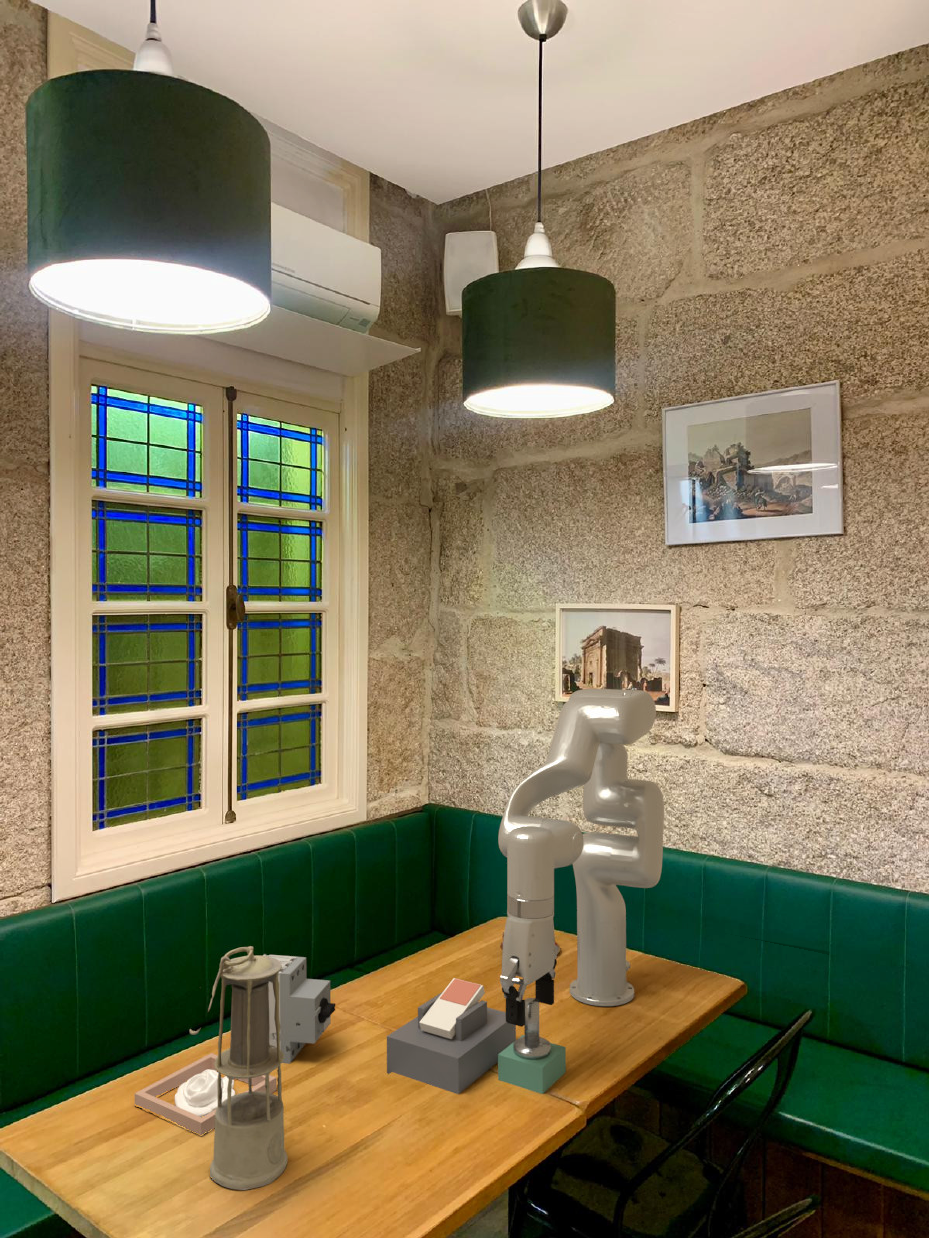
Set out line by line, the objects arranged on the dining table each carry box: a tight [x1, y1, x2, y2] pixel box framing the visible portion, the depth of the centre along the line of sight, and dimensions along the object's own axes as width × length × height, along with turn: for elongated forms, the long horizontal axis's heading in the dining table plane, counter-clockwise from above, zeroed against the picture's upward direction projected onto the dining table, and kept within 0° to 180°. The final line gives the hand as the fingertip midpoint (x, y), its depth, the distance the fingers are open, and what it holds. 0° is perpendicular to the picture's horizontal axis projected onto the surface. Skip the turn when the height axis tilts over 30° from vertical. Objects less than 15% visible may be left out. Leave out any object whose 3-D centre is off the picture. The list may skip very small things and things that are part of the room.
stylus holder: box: [497, 1034, 567, 1095], centre depth 144 cm, size 8×8×4 cm
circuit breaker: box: [262, 953, 336, 1065], centre depth 153 cm, size 8×14×15 cm, turn 78°
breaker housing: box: [386, 991, 517, 1095], centre depth 150 cm, size 18×14×10 cm
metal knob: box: [513, 997, 551, 1060], centre depth 144 cm, size 6×6×12 cm
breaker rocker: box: [419, 977, 486, 1039], centre depth 150 cm, size 11×6×2 cm, turn 147°
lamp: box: [189, 945, 288, 1191], centre depth 120 cm, size 10×13×30 cm
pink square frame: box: [134, 1052, 277, 1135], centre depth 139 cm, size 15×15×2 cm
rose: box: [174, 1069, 236, 1117], centre depth 138 cm, size 10×4×10 cm
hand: (530, 1013), depth 143 cm, fingers open, 9 cm apart
